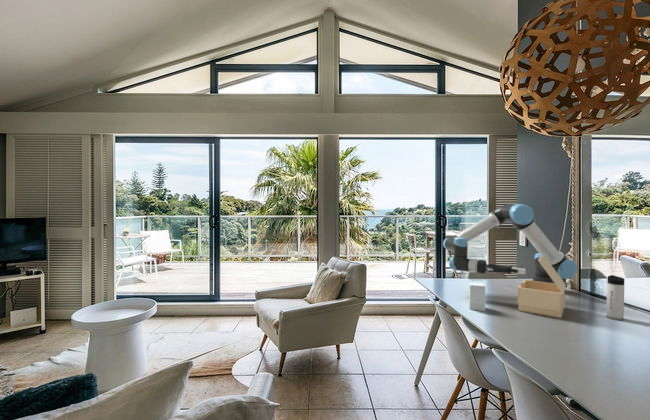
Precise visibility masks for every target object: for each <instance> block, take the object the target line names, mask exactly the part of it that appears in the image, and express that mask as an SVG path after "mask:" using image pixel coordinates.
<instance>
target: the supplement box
mask: <svg viewBox="0 0 650 420" xmlns="http://www.w3.org/2000/svg"><path fill="white" fill-rule="evenodd" d="M468 308H469V310H473V311H483V312H485V311H486V285H485V284H484V283H481V282H468Z"/></svg>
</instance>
